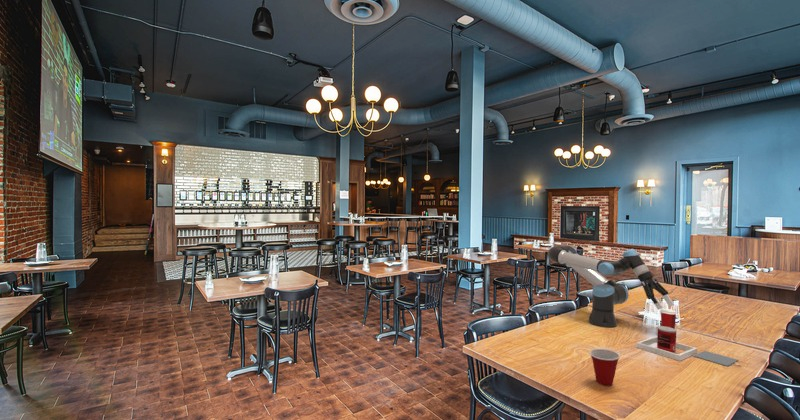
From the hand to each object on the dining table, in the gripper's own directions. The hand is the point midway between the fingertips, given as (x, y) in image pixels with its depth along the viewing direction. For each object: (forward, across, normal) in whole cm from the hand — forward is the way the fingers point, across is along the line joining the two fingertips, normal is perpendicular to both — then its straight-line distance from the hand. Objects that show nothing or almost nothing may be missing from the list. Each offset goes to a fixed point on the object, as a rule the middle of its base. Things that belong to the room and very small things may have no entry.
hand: (666, 307), depth 213 cm
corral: (+20, -28, -1) cm, 34 cm away
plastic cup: (+22, -91, -4) cm, 94 cm away
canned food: (+20, -28, -1) cm, 34 cm away
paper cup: (+13, 0, +8) cm, 16 cm away
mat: (+29, -19, -14) cm, 38 cm away
